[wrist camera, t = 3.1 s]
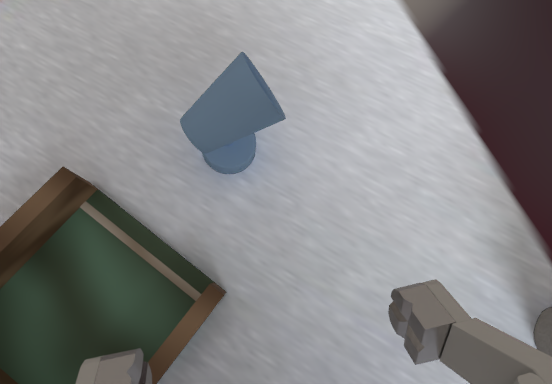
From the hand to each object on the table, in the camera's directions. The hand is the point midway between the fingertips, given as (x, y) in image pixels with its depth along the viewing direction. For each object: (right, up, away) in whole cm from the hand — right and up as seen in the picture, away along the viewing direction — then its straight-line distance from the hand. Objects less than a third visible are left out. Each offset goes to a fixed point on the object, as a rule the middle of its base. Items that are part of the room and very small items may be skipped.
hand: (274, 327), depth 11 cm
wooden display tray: (-14, -4, +13) cm, 20 cm away
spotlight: (-4, +8, +18) cm, 20 cm away
